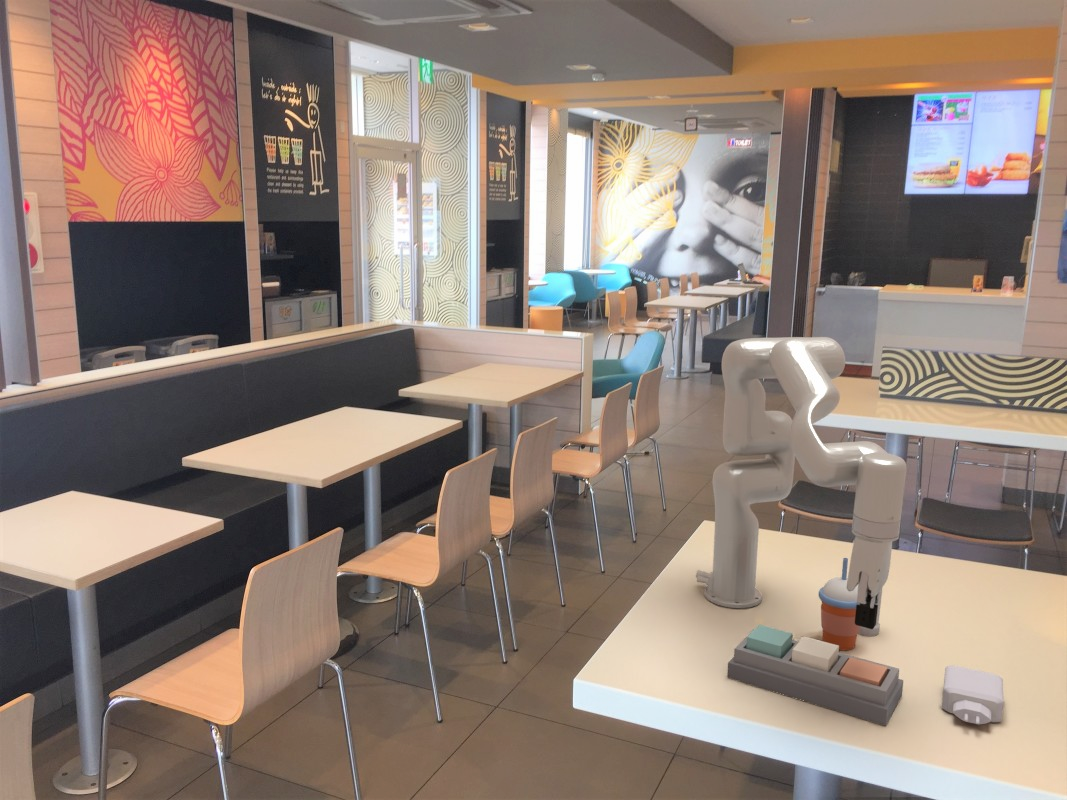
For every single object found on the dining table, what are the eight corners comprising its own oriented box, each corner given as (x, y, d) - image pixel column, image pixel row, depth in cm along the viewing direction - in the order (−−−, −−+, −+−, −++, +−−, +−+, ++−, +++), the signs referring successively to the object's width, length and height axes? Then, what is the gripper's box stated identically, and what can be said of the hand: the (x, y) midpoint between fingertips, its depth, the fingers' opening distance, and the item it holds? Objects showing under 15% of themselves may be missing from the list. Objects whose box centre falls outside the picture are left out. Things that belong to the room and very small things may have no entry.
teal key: (746, 652, 162) (746, 637, 162) (758, 639, 168) (759, 624, 167) (780, 661, 159) (781, 646, 158) (791, 648, 164) (792, 633, 164)
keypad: (727, 677, 162) (728, 649, 161) (750, 652, 172) (752, 626, 171) (885, 726, 147) (888, 695, 146) (902, 695, 157) (904, 667, 155)
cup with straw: (862, 637, 179) (869, 553, 176) (863, 657, 171) (871, 569, 167) (815, 630, 182) (821, 547, 178) (814, 649, 173) (820, 563, 170)
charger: (939, 728, 147) (943, 687, 160) (1001, 743, 143) (1000, 700, 156) (942, 702, 146) (945, 663, 159) (1005, 716, 142) (1003, 675, 155)
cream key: (791, 665, 158) (792, 649, 157) (802, 651, 163) (803, 636, 162) (827, 675, 154) (828, 659, 154) (837, 660, 159) (839, 645, 159)
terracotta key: (838, 687, 153) (840, 671, 153) (848, 672, 159) (850, 657, 158) (877, 698, 150) (878, 682, 149) (886, 682, 155) (887, 667, 154)
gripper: (864, 509, 157) (854, 604, 161) (840, 534, 145) (830, 636, 149) (909, 518, 153) (897, 615, 157) (888, 544, 141) (876, 649, 145)
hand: (865, 625), depth 153 cm, fingers closed
